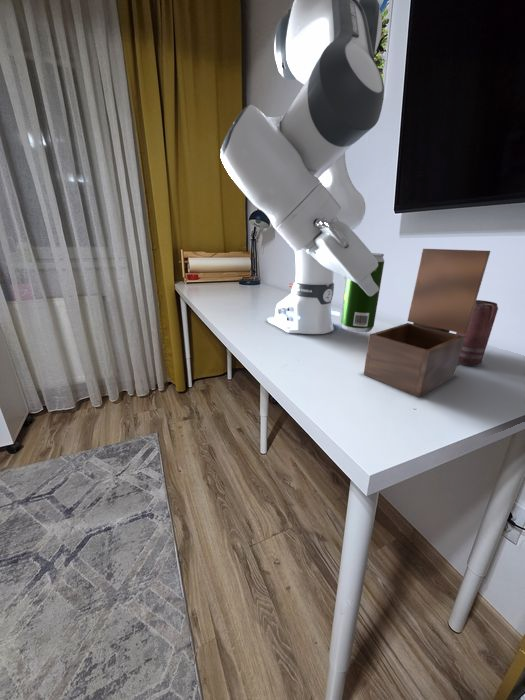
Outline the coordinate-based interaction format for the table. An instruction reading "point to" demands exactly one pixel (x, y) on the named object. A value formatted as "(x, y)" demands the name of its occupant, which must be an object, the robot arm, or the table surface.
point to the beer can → (361, 302)
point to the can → (478, 333)
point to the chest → (413, 357)
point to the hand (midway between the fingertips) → (365, 288)
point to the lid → (447, 288)
